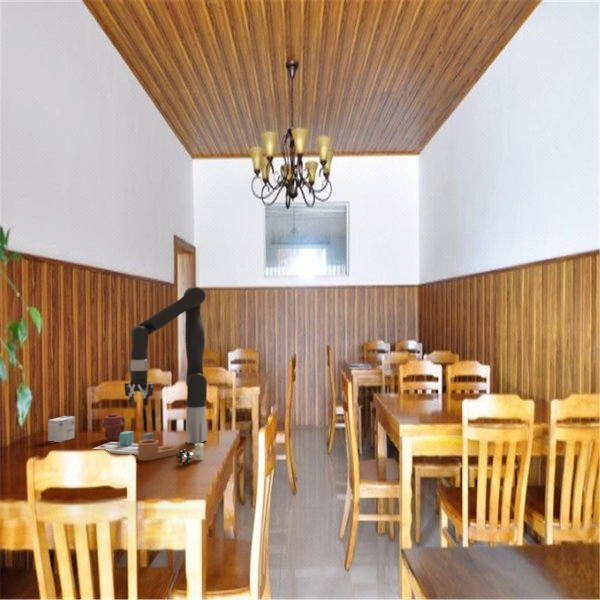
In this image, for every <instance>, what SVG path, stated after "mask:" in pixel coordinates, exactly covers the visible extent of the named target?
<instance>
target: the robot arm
mask: <svg viewBox="0 0 600 600" xmlns="http://www.w3.org/2000/svg"><path fill="white" fill-rule="evenodd" d="M206 296H207V295H206V292H205V290H204V289H203V288H201V287H200V286H191V287H188V288H187V289H186V290H185V291H184V293H183V296H182V297H180V298H179V299H178V300H177V301H175V302H173V303H172V304H170V305H168V306H166V307H164V308H163V309H161V310H159V311H157V312H156V313H155V314H153V315H152V316H150V317H148V319H146V320H144V321H143V322H141V323H139V324H137V325H136V326H134V327H133V328H132V329H131V331H130V337H131V339H132V348H131V357H130V358H131V359H130V360H131V361H130V382H125V383H124V384H123V385H124V395H125V396H126V397H128V398H129V399H128V404H129V405H130V406H134V405H135V395H136V393H137V392H139V393H140V394H142V396H143V401H142V402H143V403H142V404H143V407H147V406H148V405H149V398H150V397H152V396H153V394H154V384H155V383H153V382H151V383H150V382H148V378H149V377H148V373H149V372H148V370H149V369H148V346H149V338H150V337H149V335H151V334H153V333H154V332H157V331H159V330H160V329H162V328H163V327H165V326H166V325H168V324H169V323H171V322H172V321H173V320H175V319H176V318H177V317H179V316H180V315H182V314H184V313H185V325H184V328H185V332H184V333H185V339H184V340H185V353H186V362H187V363H186V364H187V366H186V367H187V368H186V378H185V385H186V387H187V389H186V393H187V394H186V406H185V407H186V410H185V411H186V414H185V417H186V418H185V423H186V424H185V443H186V442H187V443H186V444H189V443H202V442H204V441H205V440H207V441H208V421H207V419H206V418H207V417H206V416H207V415H206V412H207V411H206V410H207V409H206V408H207V407H206V406H207V405H206V404H207V400H208V399H207V393H208V391H207V390H208V382H207V381H208V380H207V377H205V375H204V369H203V367H204V366H203V360H204V359H203V358H204V352H205V345H206V344H205V342H206V340H205V339H206V338H205V328H204V325H203V321H202V318H201V317H202V316H201V305H202V304H203V302H204V301H206ZM204 443H205V442H204Z"/></svg>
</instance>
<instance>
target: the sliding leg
mask: <svg viewBox="0 0 600 600" xmlns="http://www.w3.org/2000/svg"><path fill="white" fill-rule="evenodd" d="M134 436H135V432H134V431H131V430H125V431H123V432H122V431H121V432H120V436H119V442H118V443H117V446H118V448H120V445H129V444H132V443H133V444H135V443H134V440H135V439H134V438H135V437H134Z"/></svg>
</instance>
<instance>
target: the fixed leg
mask: <svg viewBox="0 0 600 600" xmlns="http://www.w3.org/2000/svg"><path fill="white" fill-rule="evenodd" d="M154 436H155V433H154V432H149V431H148V432H146V433H143V434H142V435H141V441H142V440H155V437H154Z"/></svg>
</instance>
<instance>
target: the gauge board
mask: <svg viewBox="0 0 600 600" xmlns="http://www.w3.org/2000/svg"><path fill="white" fill-rule="evenodd" d="M117 443H118V442H116V441H115V442H114V441H108V442H107V443H104V444H102V445H99V446H96V447H94V448H92V450H93V449H106V450H108V451H109V452H111V453H110V454H117V455H118V454H119V455H130V454H134V455H133V456H138V443H132V444H129V445H120V448H118V446H117Z"/></svg>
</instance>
